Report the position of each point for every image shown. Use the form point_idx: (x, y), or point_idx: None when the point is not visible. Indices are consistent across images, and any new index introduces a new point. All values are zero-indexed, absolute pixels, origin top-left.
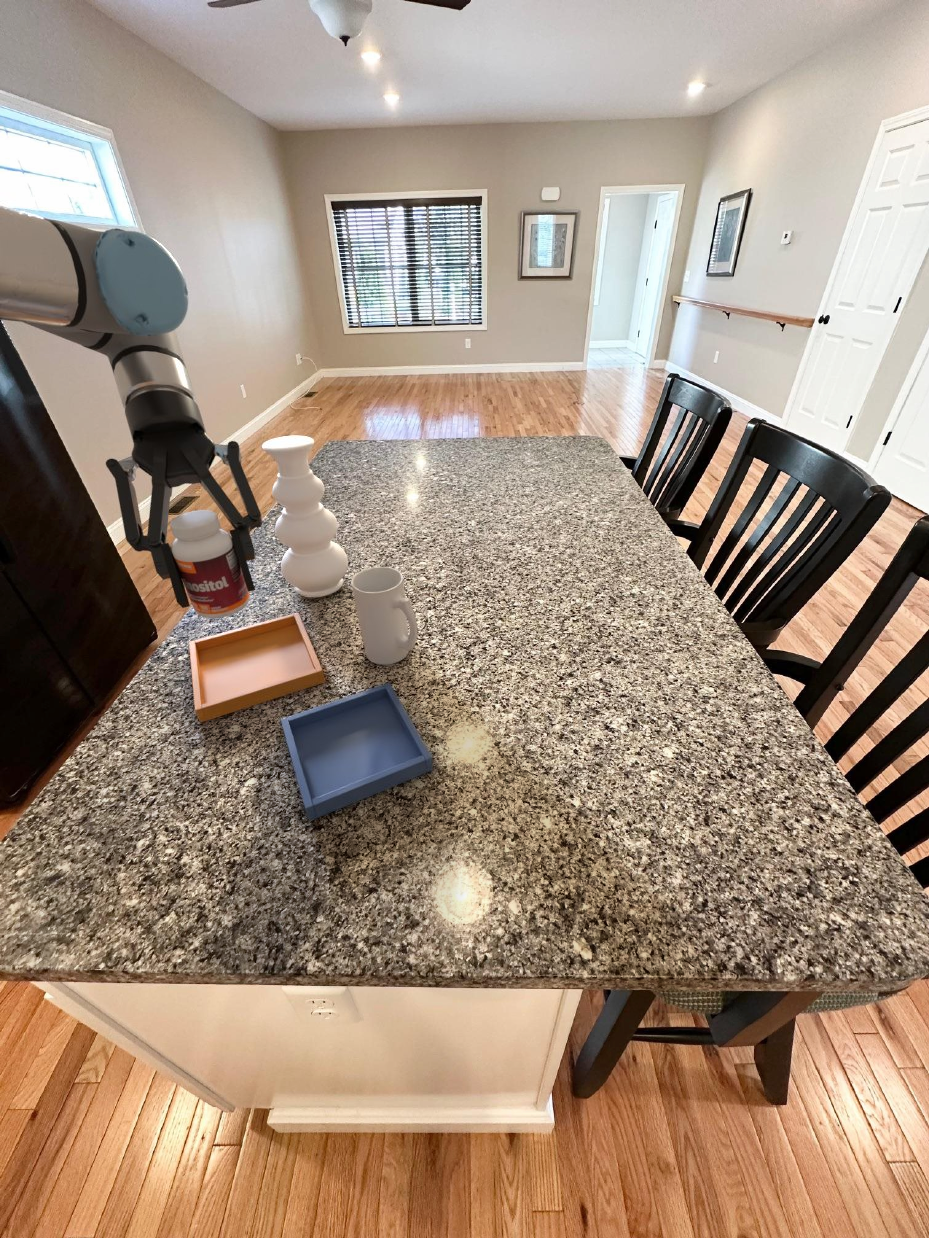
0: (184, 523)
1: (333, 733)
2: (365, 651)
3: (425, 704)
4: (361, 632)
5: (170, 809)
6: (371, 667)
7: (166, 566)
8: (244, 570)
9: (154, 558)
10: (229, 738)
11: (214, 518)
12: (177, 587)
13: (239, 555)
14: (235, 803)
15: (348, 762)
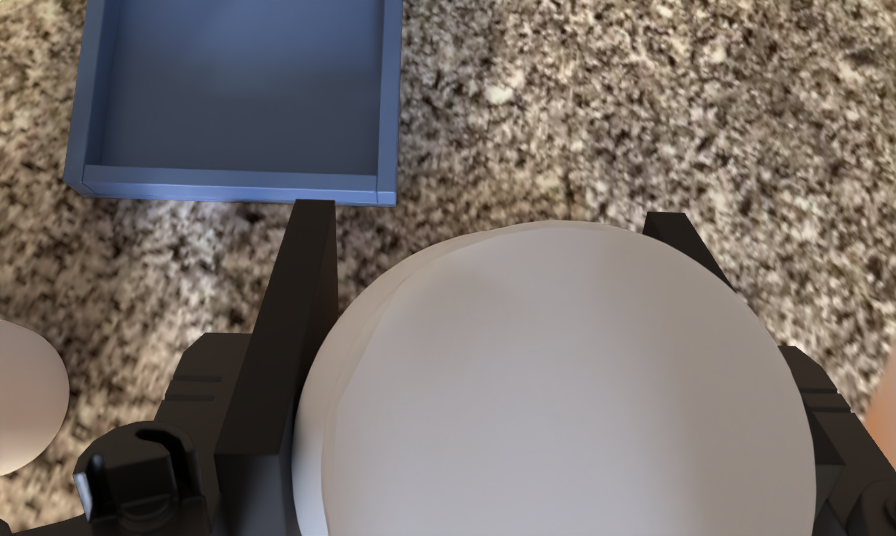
0: (665, 374)
1: (283, 120)
2: (58, 401)
3: (21, 115)
4: (15, 396)
5: (666, 107)
6: (79, 346)
7: None
8: (309, 241)
9: (858, 433)
10: None
11: (359, 337)
12: (686, 253)
13: (296, 300)
14: (537, 54)
15: (282, 17)
